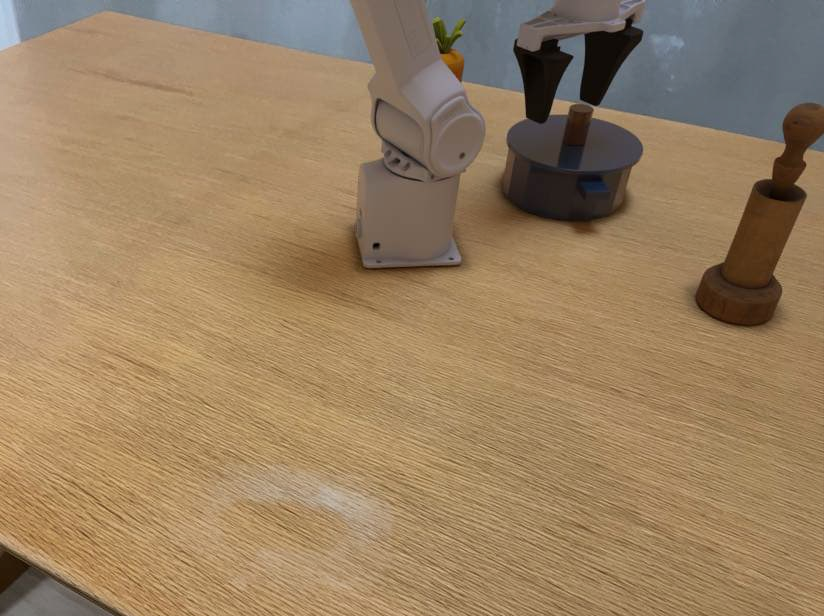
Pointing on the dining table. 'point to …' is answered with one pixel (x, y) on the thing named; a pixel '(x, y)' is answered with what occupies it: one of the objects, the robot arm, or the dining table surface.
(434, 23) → the carrot
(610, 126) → the lid
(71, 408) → the dining table surface
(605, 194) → the pot
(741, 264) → the mortar and pestle
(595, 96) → the robot arm
